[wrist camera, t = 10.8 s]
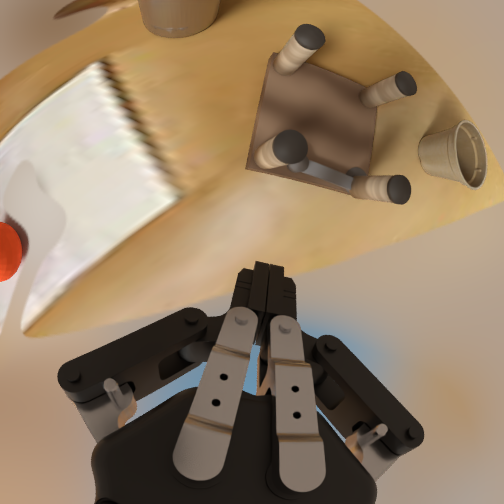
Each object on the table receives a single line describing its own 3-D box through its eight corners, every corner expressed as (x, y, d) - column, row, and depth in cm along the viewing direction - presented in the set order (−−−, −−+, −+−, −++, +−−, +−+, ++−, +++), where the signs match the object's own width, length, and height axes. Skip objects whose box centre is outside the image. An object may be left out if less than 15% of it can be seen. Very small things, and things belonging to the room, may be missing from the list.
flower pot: (446, 133, 33) (485, 130, 25) (447, 189, 35) (487, 193, 27) (408, 119, 31) (452, 111, 23) (410, 182, 33) (455, 185, 25)
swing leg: (282, 172, 27) (314, 167, 20) (289, 147, 27) (322, 135, 19) (363, 202, 30) (407, 208, 22) (369, 180, 29) (413, 181, 22)
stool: (268, 59, 26) (297, 18, 17) (370, 97, 29) (419, 79, 20) (244, 170, 29) (268, 163, 19) (356, 198, 32) (408, 205, 23)
